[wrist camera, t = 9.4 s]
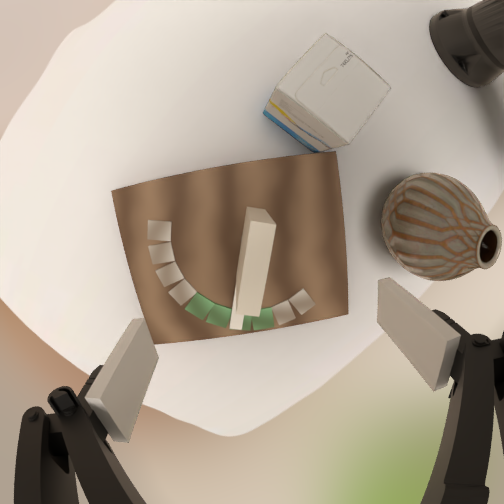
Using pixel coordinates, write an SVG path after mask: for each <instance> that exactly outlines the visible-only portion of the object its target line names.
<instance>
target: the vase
mask: <svg viewBox="0 0 504 504" xmlns="http://www.w3.org/2000/svg"><path fill="white" fill-rule="evenodd" d="M381 228H382V235H383V238H384V241H385V244H386V246H387V248H388V250H389V252H390V254H391V255H392V257H393V258H394V259H395V260H396V261H397V262H398V263H399V264H400V265H401V266H402V267H403V268H405V269H406V270H407V271H409V272H410V273H412V274H414V275H416V276H418V277H420V278H423V279H427V280H432V281H446V280H452V279H455V278H458V277H461V276H463V275H465V274H467V273H469V272H471V271H472V270H474V269H476V268H482V269H488V268H490V267H491V266H493V265H494V263H495V262H496V260H497V259H498V256H499V254H500V250H501V245H502V237H501V233H500V230H499V229H498V227H497V226H495V225H493V224H492V223H491V222H490V221H489V219H488V216H487V214H486V212H485V210H484V208H483V206H482V204H481V203H480V201H479V200H478V198H477V197H476V196H475V194H474V193H473V192H472V191H471V190H470V189H469V188H468V187H467V186H465V185H464V184H463V183H461V182H460V181H458V180H457V179H455V178H452V177H450V176H448V175H444V174H439V173H420V174H415V175H412V176H410V177H408V178H406V179H404V180H403V181H401V182H400V183H399V184H398V185H396V186H395V187H394V189H393V190H392V191H391V192H390V194H389V195H388V197H387V199H386V201H385V204H384V207H383V211H382V217H381Z"/></svg>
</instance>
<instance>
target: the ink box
mask: <svg viewBox="0 0 504 504" xmlns="http://www.w3.org/2000/svg"><path fill="white" fill-rule="evenodd" d="M390 89H391V87H390V86H389V85H388V84H387V83H386V82H385V81H384V80H383V79H382V78H381V77H380V76H379V75H378V74H377V73H376V72H375V71H374V70H373V69H372V68H371V67H369V66H368V65H367V64H366V63H365V62H364V61H363V60H361V59H360V58H359V57H358V56H356V55H355V54H354V53H353V52H351V51H350V50H349V49H348V48H346V47H345V46H344V45H342V44H341V43H340V42H338V41H337V40H335V39H334V38H333V37H331V36H330V35H328V34H327V33H325V34H324V35H323V36H322V37H321V38H320V39H319V40H318V41H317V42H316V43H315V44H314V45H313V46H312V47H311V48H310V49H309V50H308V51H307V52H306V53H305V54H304V55H303V56H302V57H301V59H300V60H299V61H298V62H297V63H296V64H295V65H294V66H293V67H292V68H291V69H290V70H289V72H288V73H287V74H286V75H285V76H284V77H283V79H282V80H281V81H280V82H279V83H278V84H277V86H276V88H275V90H274V92H273V94H272V96H271V98H270V100H269V102H268V104H267V106H266V108H265V110H264V112H263V114H264V115H265V116H266V117H268V118H269V119H271V120H272V121H273V122H275V123H276V124H277V125H278V126H280V127H281V128H282V129H284V130H285V131H286V132H287V133H289V134H290V135H291V136H293V137H294V138H295V139H297V140H298V141H299V142H300V143H302V144H303V145H304V146H306V147H307V148H309V149H310V150H311V151H313V152H314V153H316V152H320V151H324V150H328V149H332V148H337V147H341V146H345V145H349V144H350V143H351V141H352V140H353V139H354V137H355V136H356V135H357V133H358V132H359V131H360V129H361V128H362V127H363V125H364V124H365V123H366V121H367V120H368V119H369V117H370V116H371V115H372V113H373V112H374V111H375V109H376V108H377V107H378V105H379V104H380V103H381V101H382V100H383V99H384V97H385V96H386V95H387V93H388V92H389V90H390Z"/></svg>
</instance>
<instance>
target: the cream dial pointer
mask: <svg viewBox="0 0 504 504" xmlns="http://www.w3.org/2000/svg"><path fill="white" fill-rule="evenodd" d="M275 230H276V223H275V222H274V221H273V219H272V218H271V217H270V215H269V214H268V213H267V211H266V210H265V209H260V208H253V207H247V209H246V215H245V222H244V228H243V234H242V236H241V248H240V254H239V261H238V267H237V274H236V286H235V293H234V300H233V306H232V313H231V320H230V328H229V329H238V330H242V325H243V319H244V315H248V316H257V317H259V316H260V311H261V306H262V300H263V295H264V290H265V284H266V279H267V274H268V268H269V263H270V257H271V252H272V246H273V241H274V235H275Z"/></svg>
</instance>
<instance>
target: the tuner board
mask: <svg viewBox="0 0 504 504" xmlns="http://www.w3.org/2000/svg"><path fill="white" fill-rule="evenodd" d="M111 192H112V197H113V202H114V207H115V212H116V216H117V221H118V226H119V230H120V234H121V238H122V242H123V246H124V250H125V254H126V258H127V262H128V266H129V269H130V273H131V276H132V280H133V283H134V287H135V290H136V293H137V296H138V300H139V303H140V306H141V309H142V312H143V315H144V318H145V321H146V324H147V327H148V329H149V332H150V335H151V338H152V341H153V343H154V344H165V343H176V342H185V341H194V340H203V339H211V338H219V337H226V336H233V335H240V334H247V333H253V332H259V331H265V330H271V329H277V328H283V327H288V326H294V325H299V324H304V323H309V322H314V321H319V320H324V319H329V318H333V317H338V316H343V315H347V314H348V278H347V257H346V241H345V228H344V216H343V206H342V196H341V187H340V179H339V171H338V163H337V156H336V151H334V152H323V153H313V154H303V155H295V156H286V157H278V158H271V159H264V160H257V161H250V162H244V163H237V164H231V165H226V166H220V167H214V168H209V169H204V170H198V171H193V172H188V173H184V174H179V175H174V176H170V177H165V178H161V179H156V180H152V181H148V182H144V183H140V184H136V185H132V186H128V187H124V188H120V189H116V190H113V191H111ZM247 207H253V208H260V209H265V210H266V211H267V213H268V214H269V215H270V217H271V218H272V219H273V221H274V222H275V223H276V230H275V235H274V241H273V246H272V252H271V257H270V263H269V268H268V274H267V279H266V284H265V290H264V295H263V300H262V306H261V311H260V316H259V317H257V316H248V315H244V319H243V325H242V330H238V329H229V328H230V320H231V313H232V306H233V300H234V293H235V286H236V274H237V267H238V261H239V254H240V248H241V236H242V234H243V228H244V222H245V215H246V209H247Z"/></svg>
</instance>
